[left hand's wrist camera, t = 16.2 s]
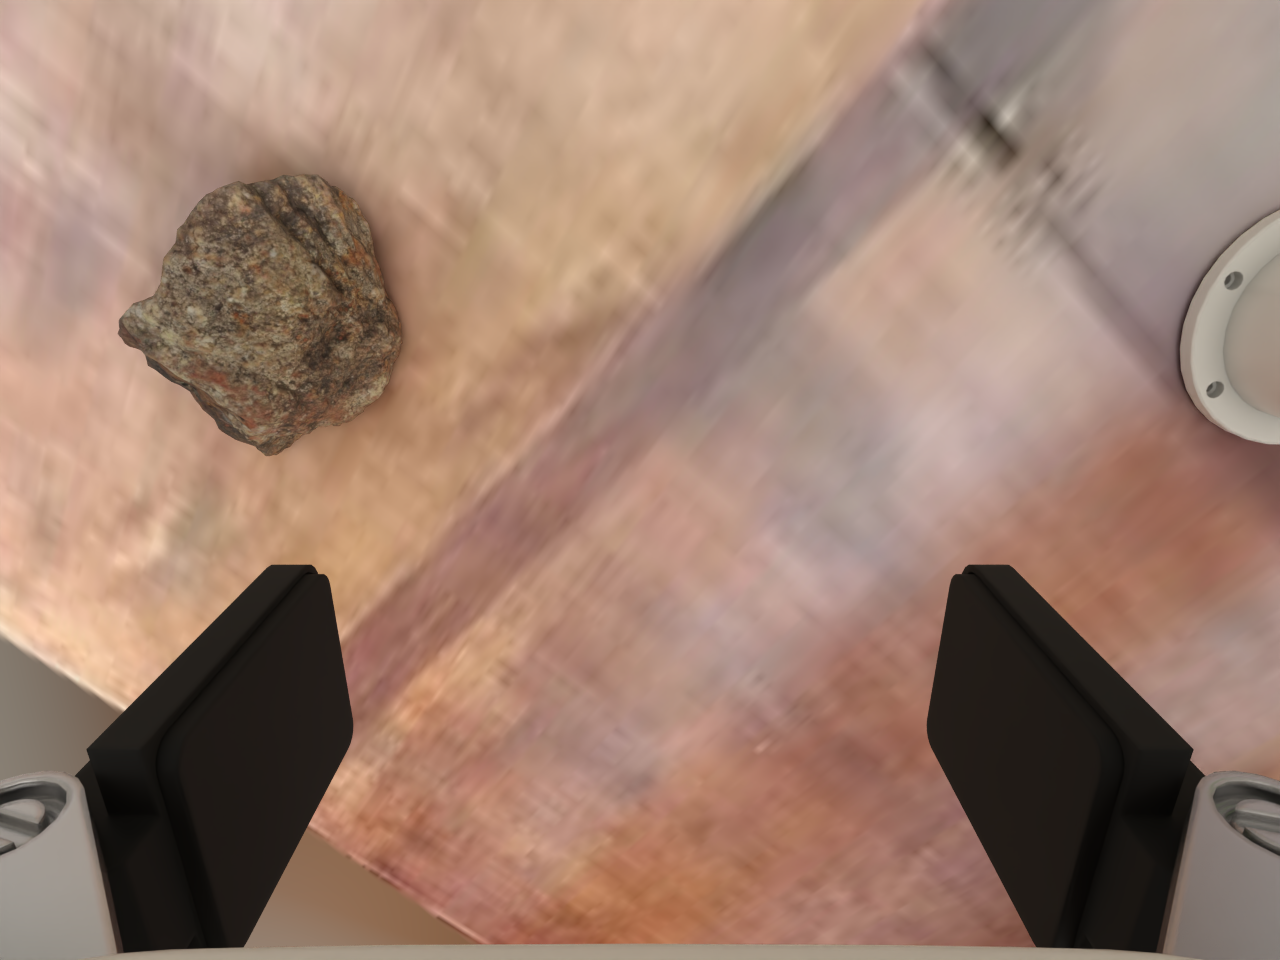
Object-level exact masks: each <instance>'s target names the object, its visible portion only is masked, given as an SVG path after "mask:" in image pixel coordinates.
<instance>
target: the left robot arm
mask: <svg viewBox="0 0 1280 960" xmlns="http://www.w3.org/2000/svg"><path fill="white" fill-rule="evenodd" d="M1180 363H1181V372H1182V376H1183V379H1184V383H1185V387H1186V390H1187V392H1188V394H1189V395H1190V397H1191V399H1192V401H1193V402H1194V404H1195V406H1196V407H1197V408H1198V409H1199V411H1200V412H1201V413H1202V414H1203V415H1204V416H1205V417H1206V418H1207V419H1208V420H1209V421H1210V422H1212V423H1214V424H1215V425H1217V426H1218V427H1220V428H1222V429H1223V430H1225V431H1227V432H1229V433H1232V434H1234V435H1237V436H1239V437H1242V438H1244V439H1247V440H1251V441H1255V442H1259V443H1264V444H1279V445H1280V210H1278V211H1276V212H1274V213H1273V214H1271V215H1269V216H1267V217H1265V218H1263V219H1262V220H1261V221H1259V222H1258V223H1257V224H1255V225H1254V226H1253V227H1251V228H1250V229H1249V230H1247V231H1246V232H1245V233H1243V234H1242V235H1241V236H1240V237H1239V238H1238V239H1237V240H1236V241H1235V242H1234V243H1233V244H1232V245H1231V246H1230V247H1229V248H1228V249H1227V250H1226V251H1225V252H1224V253H1223V254H1222V255H1221V256H1220V257H1219V258H1218V260H1217V261H1216V262H1215V264H1214V265H1213V266H1212V268H1211V269H1210V270H1209V272H1208V273H1207V274H1206V276H1205V277H1204V279H1203V280H1202V282H1201V284H1200V286H1199V288H1198V290H1197V292H1196V294H1195V295H1194V297H1193V299H1192V301H1191V304H1190V307H1189V310H1188V313H1187V316H1186V318H1185V321H1184V324H1183V330H1182V337H1181V343H1180ZM352 734H353V718H352V712H351V706H350V700H349V694H348V688H347V682H346V676H345V670H344V664H343V658H342V652H341V647H340V641H339V635H338V629H337V623H336V617H335V611H334V605H333V599H332V593H331V587H330V583H329V579H328V578H327V576H326V575H324V574H318V572H317V571H316V569H315V567H313V566H312V565H270V566H269V567H267V568H266V569H265V570H264V571H263V572H262V573H261V574H260V575H259V576H258V577H257V578H256V579H255V580H254V581H253V582H252V583H251V584H250V585H249V586H248V587H247V588H246V589H245V590H244V591H243V592H242V593H241V594H240V595H239V597H238V598H237V599H236V600H235V601H234V602H233V603H232V604H231V605H230V606H229V607H228V608H227V609H226V610H225V611H224V612H223V613H222V614H221V615H220V616H219V617H218V618H217V619H216V620H215V621H214V622H213V623H212V624H211V625H210V626H209V627H208V628H207V629H206V630H205V631H204V632H203V633H202V634H201V635H200V636H199V637H198V638H197V639H196V640H195V641H194V642H193V643H192V644H191V645H190V646H189V647H188V648H187V649H186V650H185V651H184V652H183V653H182V654H181V655H180V656H179V657H178V658H177V659H176V660H175V661H174V662H173V663H172V664H171V665H170V666H169V667H168V668H167V669H166V670H165V671H164V672H163V673H162V674H161V675H160V676H159V677H158V678H157V679H156V680H155V681H154V682H153V683H152V684H151V685H150V686H149V687H148V688H147V689H146V690H145V691H144V692H143V693H142V694H141V695H140V696H139V697H138V698H137V699H136V700H135V701H134V702H133V703H132V704H131V705H130V706H129V707H128V708H127V709H126V710H125V711H124V712H123V713H122V714H121V715H120V716H119V717H118V718H117V719H116V720H115V721H114V722H113V723H112V724H111V725H110V726H109V727H108V728H107V729H106V730H105V731H104V732H103V733H102V734H101V735H100V736H99V737H98V738H97V739H96V740H95V741H94V742H93V743H92V744H91V745H90V746H89V747H88V748H87V752H88V755H89V758H90V761H89V762H88V763H87V764H86V765H85V766H84V767H83V768H82V769H81V770H80V771H79V772H78V773H77V774H76V775H75V776H73V775H70V774H68V773H66V772H55V771H42V772H35V773H28V774H23V775H19V776H16V777H12V778H9V779H6V780H2V781H0V960H1280V781H1278V780H1274V779H1271V778H1268V777H1264V776H1261V775H1258V774H1252V773H1245V772H1238V771H1224V772H1214V773H1212V774H1210V775H1207V776H1205V775H1204V774H1203V773H1202V772H1201V771H1200V770H1199V769H1198V768H1197V767H1196V766H1195V765H1194V764H1193V763H1192V762H1191V761H1190V759H1191V755H1192V752H1193V748H1192V747H1191V746H1190V745H1189V744H1188V743H1187V742H1186V741H1185V740H1184V739H1183V738H1182V737H1181V736H1180V735H1179V734H1178V733H1177V732H1176V731H1175V730H1174V729H1173V728H1172V727H1171V726H1170V725H1169V724H1168V723H1167V722H1166V721H1165V720H1164V719H1163V718H1162V717H1161V716H1160V715H1159V714H1158V713H1157V712H1156V711H1155V710H1154V709H1153V708H1152V707H1151V706H1150V705H1149V704H1148V703H1147V702H1146V701H1145V700H1144V699H1143V698H1142V697H1141V696H1140V695H1139V694H1138V693H1137V692H1136V691H1135V690H1134V689H1133V688H1132V687H1131V686H1130V685H1129V684H1128V683H1127V682H1126V681H1125V680H1124V679H1123V678H1122V677H1121V676H1120V675H1119V674H1118V673H1117V672H1116V671H1115V670H1114V669H1113V668H1112V667H1111V666H1110V665H1109V664H1108V663H1107V662H1106V661H1105V660H1104V659H1103V658H1102V657H1101V656H1100V655H1099V654H1098V653H1097V652H1096V651H1095V650H1094V649H1093V648H1092V647H1091V646H1090V645H1089V644H1088V643H1087V642H1086V641H1085V640H1084V639H1083V638H1082V637H1081V636H1080V635H1079V634H1078V633H1077V632H1076V631H1075V630H1074V629H1073V628H1072V627H1071V626H1070V625H1069V624H1068V623H1067V622H1066V621H1065V620H1064V619H1063V618H1062V617H1061V616H1060V615H1059V614H1058V613H1057V612H1056V611H1055V610H1054V609H1053V608H1052V607H1051V606H1050V605H1049V604H1048V603H1047V602H1046V601H1045V600H1044V599H1043V598H1042V596H1041V595H1040V594H1039V593H1038V592H1037V591H1036V590H1035V589H1034V588H1033V587H1032V586H1031V585H1030V584H1029V583H1028V582H1027V581H1026V580H1025V579H1024V578H1023V577H1022V576H1021V575H1020V574H1019V573H1018V572H1017V571H1016V570H1015V569H1014V568H1013V567H1011V566H1010V565H968V566H967V567H965V569H964V571H963V572H962V574H956V575H954V576H953V578H952V579H951V583H950V587H949V593H948V599H947V605H946V611H945V617H944V623H943V629H942V635H941V641H940V647H939V652H938V658H937V664H936V670H935V676H934V682H933V688H932V694H931V700H930V706H929V712H928V718H927V734H928V739H929V743H930V746H931V748H932V750H933V752H934V754H935V756H936V758H937V759H938V761H939V763H940V765H941V767H942V769H943V771H944V773H945V775H946V777H947V779H948V780H949V782H950V784H951V786H952V788H953V790H954V792H955V794H956V796H957V798H958V799H959V801H960V803H961V805H962V807H963V809H964V811H965V813H966V815H967V817H968V819H969V820H970V822H971V824H972V826H973V828H974V830H975V832H976V834H977V836H978V838H979V840H980V841H981V843H982V845H983V847H984V849H985V851H986V853H987V855H988V857H989V859H990V860H991V862H992V864H993V866H994V868H995V870H996V872H997V874H998V876H999V878H1000V880H1001V881H1002V883H1003V885H1004V887H1005V889H1006V891H1007V893H1008V895H1009V897H1010V899H1011V900H1012V902H1013V904H1014V906H1015V908H1016V910H1017V912H1018V914H1019V916H1020V918H1021V920H1022V921H1023V923H1024V925H1025V927H1026V929H1027V931H1028V933H1029V935H1030V937H1031V939H1032V940H1033V942H1034V944H1035V945H1036V947H989V946H918V945H772V944H508V945H364V946H363V945H362V946H291V947H244V945H245V944H246V942H247V940H248V939H249V937H250V935H251V933H252V931H253V929H254V927H255V925H256V923H257V921H258V919H259V918H260V916H261V914H262V912H263V910H264V908H265V906H266V904H267V902H268V900H269V899H270V897H271V895H272V893H273V891H274V889H275V887H276V885H277V883H278V881H279V880H280V878H281V876H282V874H283V872H284V870H285V868H286V866H287V864H288V862H289V860H290V859H291V857H292V855H293V853H294V851H295V849H296V847H297V845H298V843H299V841H300V840H301V838H302V836H303V834H304V832H305V830H306V828H307V826H308V824H309V822H310V820H311V819H312V817H313V815H314V813H315V811H316V809H317V807H318V805H319V803H320V801H321V799H322V798H323V796H324V794H325V792H326V790H327V788H328V786H329V784H330V782H331V780H332V779H333V777H334V775H335V773H336V771H337V769H338V767H339V765H340V763H341V761H342V759H343V758H344V756H345V754H346V752H347V750H348V748H349V746H350V743H351V739H352Z"/></svg>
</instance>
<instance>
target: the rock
mask: <svg viewBox="0 0 1280 960" xmlns="http://www.w3.org/2000/svg"><path fill="white" fill-rule="evenodd" d="M119 328H120V329H119V331H118V335H119V336H120V337H121V338H122V339H123V341H124V343H125V344H127V345H128V346H130V347H133V348H137V349H139V350H141V351H142V352H143V353H144V354H145V356H146V359H147V364H148V366H150V367H151V368H153V369H155V370H156V371H158V372H159V373H160V374H162V375H163V376H164V377H165V378H167V379H168V380H170V381H171V382H174V383H176V384H179V385H181V386H182V387H184V388H185V389H187V390H189V391H190V392H191V394H192V395H193V397H194V398H195V400H196V401H197V402H198V403H199V405H200V406H201V408H202V409H203V410H204V411H205V412H207V413H208V414H209V415H210V416H211V417H212V418H213V419H214V420H215V421H216V424H217V426H218V428H219V429H220V430H221V431H222V432H224V433H226V434H227V435H229V436H231V437H232V438H234V439H236V440H238V441H241V442H244V443H247V444H250V445H253V446H255V447H256V448H257V449H258V450H260V451H261V452H262V453H263V454H264V455H265V456H271V455H277V454H279V453H280V452H282V451H283V449H285V448H288V447H290V446H291V445H292V444H293V442H294V441H296V440H297V439H299V438H300V437H301V436H302V435H303V434H309V433H310V432H311V431H312V430H313V429H316V428H317V427H319V426H321V427H327V426H329V425H333V426H340V425H341V424H342V423H345V422H349V421H351V420H353V419H354V418H355V417H356V416H357V415H359V414H360V413H362V412H363V411H364V409H365V408H366V407H367V406H368V405H370V404H371V403H373V402H374V401H376V400H377V399H378V398H379V397H380V395H381V394H383V393H384V388H385V386H386V385H387V384H388V383H389V379H390V375H391V372H392V370H393V366H392V365H393V364H394V362H395V360H396V359H397V358H398V356H399V353H400V345H401V344H402V338H401V323H400V322H399V320H398V315H397V311H396V309H395V307H394V305H393V304H392V302H391V300H389V298H388V296H387V293H386V291H385V288H384V280H383V277H382V275H381V270H380V267H379V265H378V262H377V260H376V257H375V254H374V248H373V240H372V237H371V232H370V227H369V225H368V223H367V221H366V220H365V219H364V217H363V216H362V213H361V211H360V209H359V206H358V204H357V203H356V202H355V201H354V199H352V198H350V197H348V196H347V195H346V194H345V193H344V192H343V191H341V190H340V189H339V188H337V187H336V186H330V185H329V184H328V182H327V181H325V180H324V179H323V178H321V177H320V176H319V175H307V174H302V175H298V176H295V177H294V176H287V175H282V176H280V177H278V178H276V179H274V180H268V181H261V182H257V183H252V184H247V185H246V184H244V183H241V182H239V181H238V182H235V183H232V184H229V185H226V186H223V187H220V188H218V189H216V190H215V191H213V192H212V193H209V194H207V195H206V196H205V197H204V198H203V199H202V200H201V201H200V202H199V203H198V204H197V205H196V207H195V208H194V209H193V210H192V212H191V213H190V215H189V216H188V218H187V220H186V221H185V223H184V224H183V225H182V226H181V227H180V228H178V229H177V237H176V243H175V244H174V246H173V247H172V248H171V250H170V251H169V252H168V253H167V255H166V256H165V257H164V260H163V268H162V276H161V284H160V286H159V287H158V289H157V291H156V293H155V295H154V296H152V297H150V298H147V299H145V300H143V301H140V302H137V303H133V305H132V306H131V307H130V308H129V309H128V310H127V311H126V313H125V314H124V315H123V316H122V317H121V318H120V319H119Z"/></svg>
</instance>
